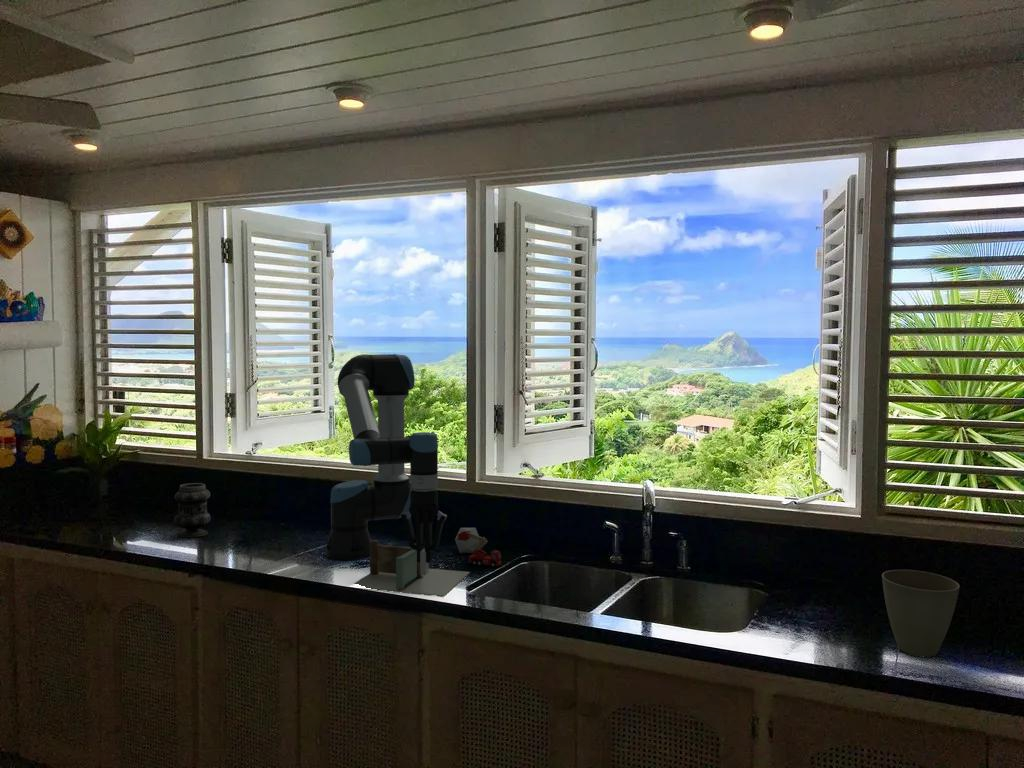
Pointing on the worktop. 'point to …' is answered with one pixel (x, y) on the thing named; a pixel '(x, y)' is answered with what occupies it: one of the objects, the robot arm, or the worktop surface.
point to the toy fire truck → (480, 555)
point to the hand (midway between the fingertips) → (424, 573)
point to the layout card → (416, 582)
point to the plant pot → (919, 609)
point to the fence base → (387, 558)
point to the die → (467, 541)
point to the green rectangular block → (406, 568)
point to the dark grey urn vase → (192, 509)
